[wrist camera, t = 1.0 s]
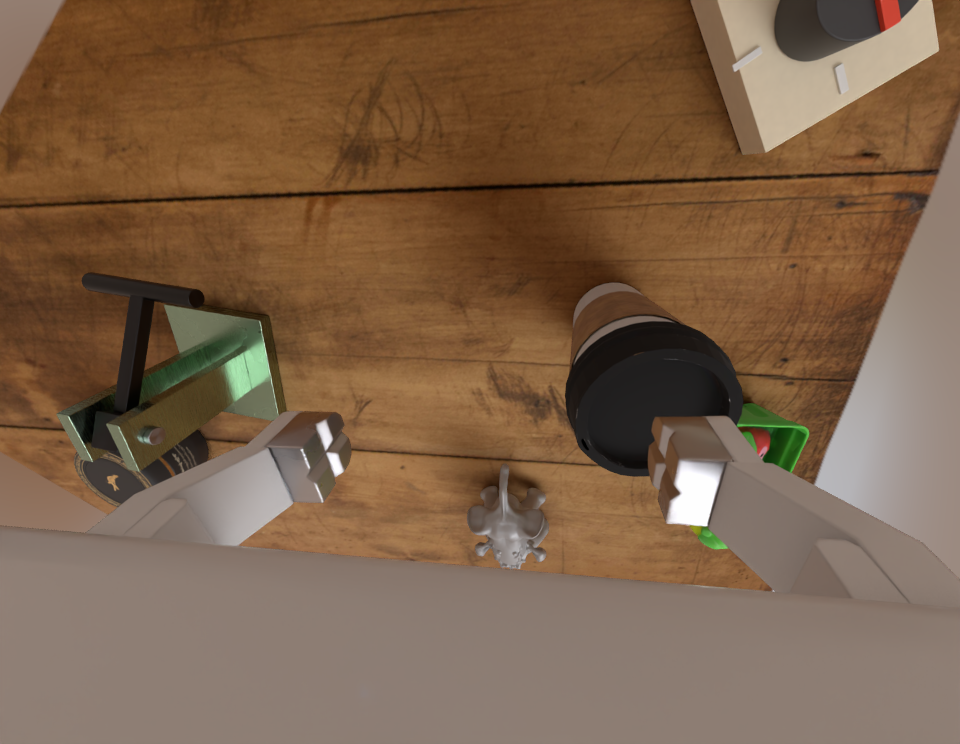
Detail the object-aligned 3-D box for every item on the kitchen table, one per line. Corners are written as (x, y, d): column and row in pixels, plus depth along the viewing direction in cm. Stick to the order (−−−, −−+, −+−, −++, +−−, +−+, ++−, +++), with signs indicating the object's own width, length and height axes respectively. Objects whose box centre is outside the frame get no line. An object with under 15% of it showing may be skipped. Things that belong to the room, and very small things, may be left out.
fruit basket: (740, 488, 37) (810, 603, 27) (646, 482, 38) (681, 588, 29) (776, 391, 32) (880, 488, 22) (665, 388, 33) (716, 478, 23)
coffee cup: (541, 295, 31) (539, 385, 18) (643, 246, 28) (731, 309, 15) (580, 375, 34) (603, 502, 21) (677, 338, 31) (774, 459, 18)
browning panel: (680, -7, 21) (700, -34, 19) (860, -150, 18) (916, -208, 15) (737, 158, 25) (761, 156, 22) (898, 61, 21) (950, 44, 19)
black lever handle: (109, 276, 30) (75, 268, 28) (210, 292, 29) (184, 286, 27) (86, 433, 30) (50, 439, 28) (186, 453, 30) (157, 461, 27)
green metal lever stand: (175, 300, 37) (-3, 361, 25) (269, 315, 36) (130, 386, 24) (206, 399, 43) (73, 488, 31) (287, 415, 42) (183, 512, 30)
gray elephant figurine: (493, 530, 45) (484, 591, 39) (449, 458, 41) (430, 514, 34) (566, 516, 42) (570, 580, 36) (526, 437, 38) (522, 493, 31)
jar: (155, 462, 50) (95, 507, 43) (126, 400, 45) (53, 440, 38) (223, 474, 49) (172, 522, 42) (200, 412, 44) (138, 455, 37)
